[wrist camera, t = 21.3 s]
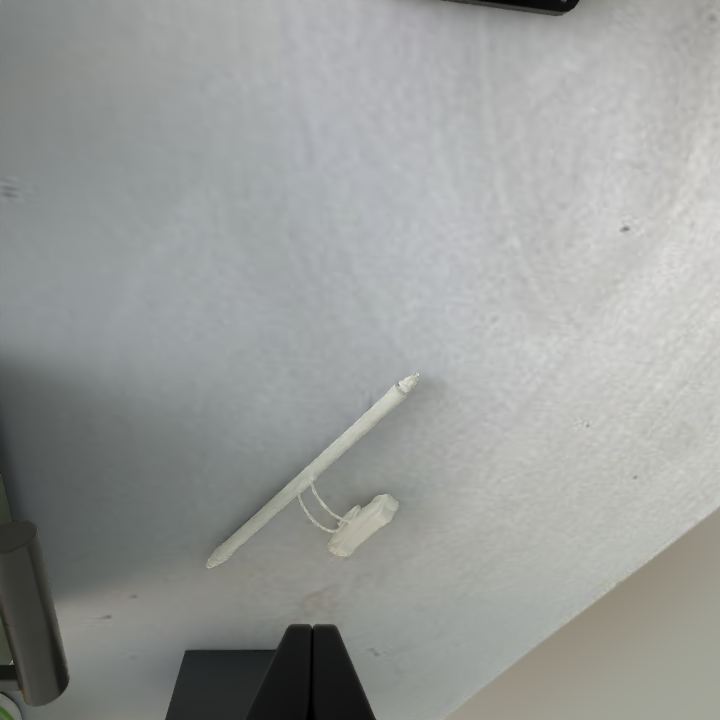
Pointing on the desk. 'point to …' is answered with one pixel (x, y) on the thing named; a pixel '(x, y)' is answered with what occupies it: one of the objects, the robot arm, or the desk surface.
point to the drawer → (27, 615)
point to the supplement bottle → (8, 709)
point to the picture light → (351, 526)
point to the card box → (217, 684)
